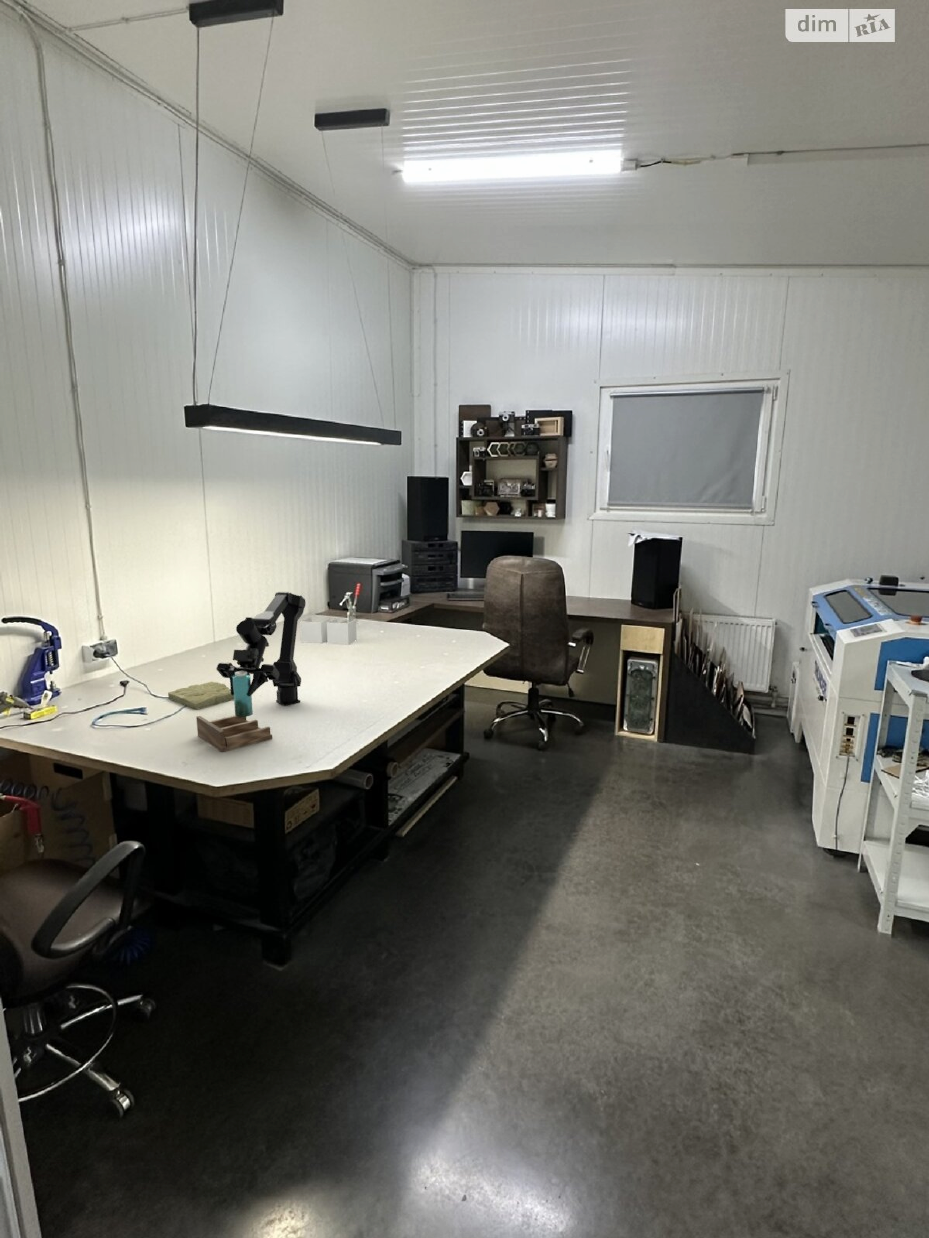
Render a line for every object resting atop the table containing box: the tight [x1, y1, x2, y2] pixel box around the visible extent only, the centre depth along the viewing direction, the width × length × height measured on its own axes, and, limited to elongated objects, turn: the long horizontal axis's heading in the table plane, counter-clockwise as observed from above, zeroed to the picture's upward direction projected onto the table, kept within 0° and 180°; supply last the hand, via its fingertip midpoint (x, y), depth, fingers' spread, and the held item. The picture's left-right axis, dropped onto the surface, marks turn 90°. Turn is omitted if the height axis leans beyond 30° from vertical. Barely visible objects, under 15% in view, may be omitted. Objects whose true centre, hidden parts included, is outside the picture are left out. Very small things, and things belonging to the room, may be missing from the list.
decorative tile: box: [167, 681, 234, 710], centre depth 247 cm, size 19×20×4 cm
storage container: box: [299, 616, 358, 646], centre depth 336 cm, size 25×11×11 cm, turn 78°
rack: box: [196, 715, 273, 753], centre depth 208 cm, size 16×18×6 cm
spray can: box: [232, 671, 253, 718], centre depth 208 cm, size 5×5×14 cm
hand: (240, 695), depth 207 cm, fingers closed on spray can, 5 cm apart
